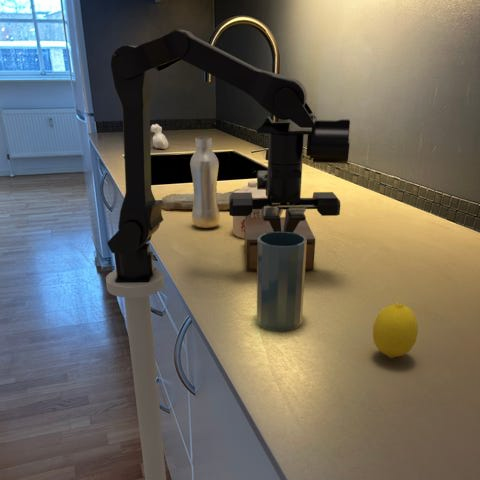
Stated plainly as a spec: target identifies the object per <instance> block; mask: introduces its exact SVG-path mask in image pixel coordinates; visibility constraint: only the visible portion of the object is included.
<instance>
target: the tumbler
mask: <svg viewBox="0 0 480 480" xmlns="http://www.w3.org/2000/svg"><path fill="white" fill-rule="evenodd" d="M306 246H307V240H306V237H304V236H302V235H301V234H297V233H293V232H269V233H265V234H262V235H260V236H259V237H258V251H257V271H256V273H257V274H256V323H257V325H258V326H259V327H260V328H261V329H265V330H268V331H272V332H289V331H293V330H296V329H297V328H299V327H300V326H301V325H302V321H303V312H304V296H305V295H304V294H305V293H304V292H305V276H306V270H305V262H306Z"/></svg>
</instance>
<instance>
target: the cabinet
mask: <svg viewBox="0 0 480 480" xmlns="http://www.w3.org/2000/svg"><path fill="white" fill-rule="evenodd" d="M280 220H281V232H283V230H284V223H285V216H280ZM269 232H274V231H273V229H272V227H271V224H270V222H269V221H264V220H263V217H253V218H245V227H244V238H243V240H244V257H245V258H244V259H245V267H246V271H247V272H248V271H249V272H250V271H251V272H252V271H253V272H257V269H250V244H258V237H259V236H260V235H262V234H265V233H269ZM293 233H297V234H301V235H302V236H304V237H306V240H307V244H312V245H313V251H312V266H311V268H305V271H314V266H315V251H316V237H315V235H314V233H313V231H312V229H311V227H310V225H309V222H308V221H307V219H306V220H304V221H300V222H299V224H298V225H297V227H296V228H295V230H294V232H293Z"/></svg>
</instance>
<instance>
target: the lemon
mask: <svg viewBox="0 0 480 480" xmlns="http://www.w3.org/2000/svg"><path fill="white" fill-rule="evenodd" d="M418 332H419V326H418V319H417V316H416V314H415V313H414V311H413V310H412V309H410V307H408V306H406V305H404V304H403V303H401V302H397V303H393V304H389V305H386V306H385V307H383V308H382V309H381V310H380V311H379V313H377V316H376V317H375V320H374V324H373V327H372V339H373V343H374V345H375V347H376V348H377V350H378V351H379V352H380V353H382V354H383V355H385V356H387V357H388V358H389V359H394V358H395V357H396V358H397V357H401V356H404V355H406V354H407V353H409V352H410V351H411V350H412V349H413V347H414V346H415V344H416V341H417V338H418Z"/></svg>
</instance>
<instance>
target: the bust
mask: <svg viewBox="0 0 480 480" xmlns="http://www.w3.org/2000/svg"><path fill="white" fill-rule="evenodd" d="M162 132H163V127H162V126H160V124H158V123H155V124H152V125H150V133H154V134H153V137H152V145H153V147H154V148H155V149H158V150H159V149H160V150H167V149H168V148H169V141H168V139H167V137H166V136H165V134H163V133H162Z"/></svg>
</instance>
